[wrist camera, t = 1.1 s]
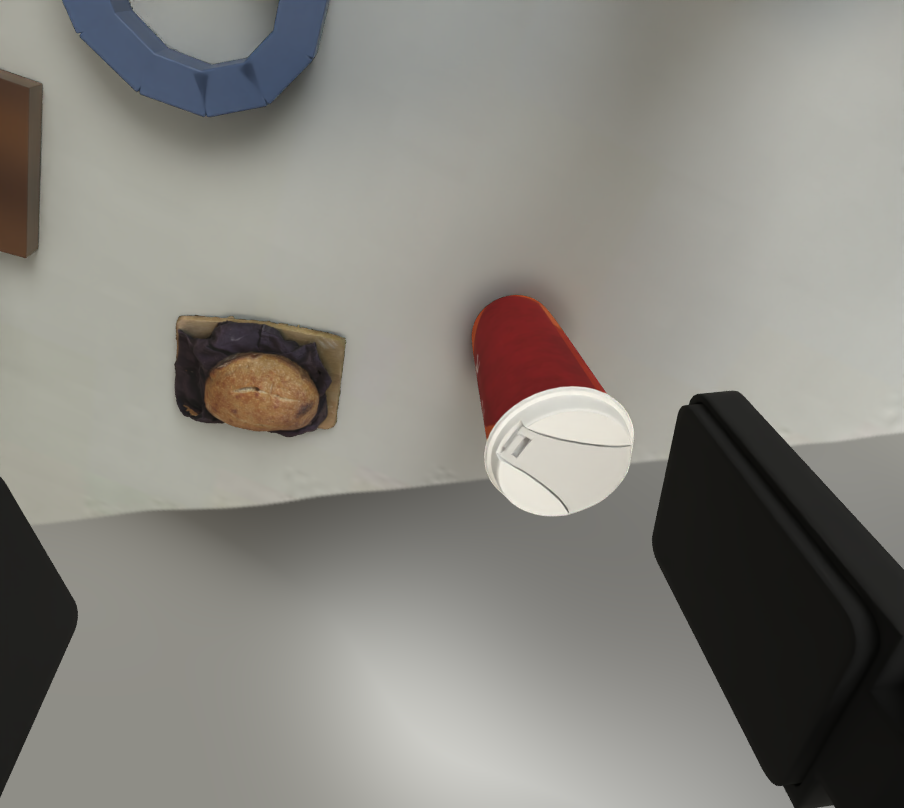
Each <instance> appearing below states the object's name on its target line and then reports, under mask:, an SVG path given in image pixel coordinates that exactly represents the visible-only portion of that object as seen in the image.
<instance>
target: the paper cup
mask: <svg viewBox="0 0 904 808" xmlns="http://www.w3.org/2000/svg"><path fill="white" fill-rule="evenodd" d="M472 347H473V355H474V362H475V369H476V376H477V382H478V388H479V395H480V401H481V407H482V413H483V420H484V426H485V432H486V438H487V442H486V446H485V450H484V463H485V468H486V472H487V474H488V477H489V479H490V480H491V482H492V483H493V485H494V486H495V487H496V488H497V489H498V490H499V491H500V492H501V493H502V494H504V496H505V497H506V498H507V499H508V500H509V501H510V502H511V503H512V504H514V505H515V506H517V507H518V508H520V509H522V510H524V511H526V512H529V513H533V514H536V515H543V516H563V515H569V514H572V513H575V512H578V511H581V510H584V509H586V508H588V507H591V506H593V505H595V504H597V503H599V502H600V501H602V500H603V499H605V498H606V497H607V496H609V495H610V494H611V493H612V492H613V491H614V490H615V489H616V488H617V487H618V485H619V484H620V483H621V482H622V480H623V479H624V477H625V475H626V474H627V472H628V469H629V466H630V461H631V454H632V448H633V443H634V429H633V424H632V421H631V419H630V417H629V414H628V413H627V411H626V410H625V409H624V407H623V406H622V405H621V404H620V403H619V402H618V401H617V400H616V399H614V398H613V397H611V396H609V395H608V394H607V393H606V392H605V390H604V389H603V388H602V386H601V385H600V383H599V382H598V380H597V379H596V377H595V376H594V374H593V373H592V372H591V370H590V369H589V367H588V366H587V364H586V363H585V361H584V360H583V359H582V357H581V356H580V354H579V353H578V351H577V350H576V348H575V347H574V346H573V344H572V343H571V341H570V340H569V338H568V337H567V336H566V334H565V333H564V331H563V330H562V329H561V327H560V326H559V324H558V323H557V321H556V320H555V319H554V317H553V316H552V315H551V314H550V312H549V311H548V310H547V309H546V308H545V307H544V306H543V305H542V304H541V303H540V302H538V301H537V300H535V299H533V298H531V297H527V296H523V295H510V296H505V297H502V298H499V299H497V300H495V301H493V302H491V303H490V304H489V305H487V306H486V307H485V308H484V309H483V310H482V311H481V312H480V314H479V315H478V317H477V318H476V320H475V323H474V325H473V329H472ZM568 510H569V511H568Z"/></svg>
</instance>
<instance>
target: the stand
mask: <svg viewBox="0 0 904 808" xmlns="http://www.w3.org/2000/svg"><path fill="white" fill-rule="evenodd" d="M41 117H42V84H41V83H39V82H36V81H33V80H30V79H27V78H24V77H21V76H18V75H16V74H13V73H10V72H7V71H4V70H1V69H0V251H1V252H5V253H9V254H12V255H16V256H20V257H23V258H27V257H28V256H30V255H31V254H32V253H33V252H35V251H36V250H37V249H38V231H39V193H40V155H41Z"/></svg>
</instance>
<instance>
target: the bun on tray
mask: <svg viewBox="0 0 904 808" xmlns="http://www.w3.org/2000/svg"><path fill="white" fill-rule="evenodd" d="M176 333H177V334H176V340H177V356H176V359H177V360H176V362H175V364H174V365H175V370H176V377H175V395H176V396H175V397H176V398H177V399H176V402H177V405H178V407H179V409H180V411H181V412H182V413H183V415H184V416H186V417H190V418H191V419H194V420H195V421H199V422H204V423H227V424H229V425H231V426H234V427H238V428H243V429H248V430H252V431H268V432H270V433H278V434H280V435H283V436H285V437H293V436H296V435H300V434H304V433H306V432H312V431H315V430H316V429H317V428H322V429H329V428H332V427H334V425H335V424H336V422H337V409H338V404H339V403H338V402H339V396H340V388H341V387H340V384H341V378H342V371H343V361H344V356H345V355H344V353H345V351H344V350H345V344H346V340H345V338H342V337H340V336H337V335H335V334H334V335H332V334H329V333H328V332H327V333H326V332H322V331H316V330H313V329H312V330H309V329H307V328H300V327H299V325H298V326H297V327H295V326H288V324H283V323H279V324H276V323H271V322H270V321H267V322H266V321H257V320H249V321H248V320H245V319H235V318H234V317H233V316H229V317H228V318H218V317H205V316H198V315H195V316H180V317H179V318H178V320H177V323H176Z"/></svg>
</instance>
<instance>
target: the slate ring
mask: <svg viewBox="0 0 904 808" xmlns="http://www.w3.org/2000/svg"><path fill="white" fill-rule="evenodd" d="M62 1H63V4H64V6H65V8H66V10H67V13H68V15H69V17H70V20H71V22H72V24H73V26H74V29H75V31H76V33H81V34H80V38H81V39H82V40H83V41H84V42H85V43H86V44H88V45H89V46H90V47H91V48H92V49H93V50H94V51H95V52H96V53H97V54H98V55H99V56H100V57H101V58H102V59H103V60H104V61H105V62H106V63H107V64H108V65H109V66H110V67H111V68H112V69H113V70H114V71H115V72H116V73H117V74H118V75H119V76H120V77H122V78H123V79H124V80H125V81H126V82H127V83H128V84H129V85H130V86H131V87H132V88H133V89H134V90H135V91H136V92H138V91H140V94H141V95H143V96H146V97H149V98H152V99H155V100H157V101H160V102H163V103H166V104H169V105H172V106H174V107H177V108H180V109H183V110H186V111H188V112H191V113H194V114H197V115H200V116H202V117H205V116H206V115H207V117H213V116H218V115H223V114H229V113H234V112H239V111H244V110H249V109H255V108H260V107H265V106H267V105H268V104H271V103H272V102H273V101H274V100H275V99H276V98H277V97H278V96H279V95H280V94H281V93H282V92H283V91H284V89H285V88H286V87H287V86H288V85H289V84H290V83H291V82H292V81H293V80H294V79H295V78H296V77H297V76H298V75H299V74H300V73H301V72H302V71H303V70H304V69H305V68H306V67H307V66H308V65H309V64H310V63H311V62H312V60H313V59H314V58H315V55H316V54H317V52H318V48H319V44H320V40H321V36H322V31H323V27H324V23H325V18H326V14H327V10H328V5H329V1H330V0H279V4H278V9H277V14H276V19H275V24H274V29H273V31H272V32H271V33H270V34H269V35H268V36H267V38H266V39H265V40H264V41H263V42H262V43H261V44H260V45H259V46H258V47H257V48H256V49H255V50H254V51H253V53H252V54H251V55H250V56H249V57H248V58H243V59H238V60H233V61H228V62H222V63H217V64H212V65H211V64H209V63H206V62H203V61H201V60H198V59H196V58H193V57H190V56H188V55H185V54H182V53H180V52H177V51H175V50H172V49H169V48H168V47H167V46H166V45H165V44H164V43H163V42H162V41H161V40H160V39H159V38H158V37H157V36H156V35H155V34H154V33H153V32H152V30H151V29H150V28H149V27H148V26H147V25H146V24H145V23H144V22H143V21H142V20H141V19H140V18H139V17H138V16H137V15H136V14H135V13H134V12H133V11H132V8H131V6H130V3H129V0H62Z"/></svg>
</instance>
